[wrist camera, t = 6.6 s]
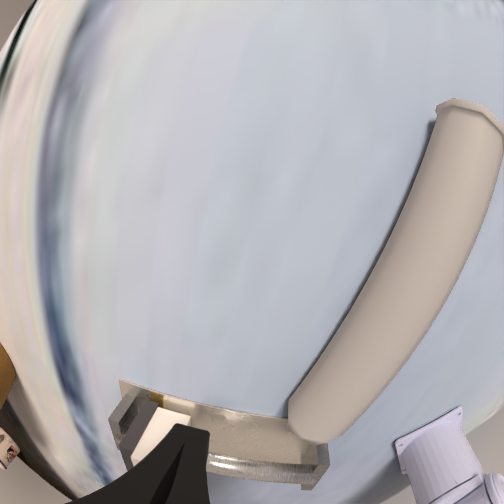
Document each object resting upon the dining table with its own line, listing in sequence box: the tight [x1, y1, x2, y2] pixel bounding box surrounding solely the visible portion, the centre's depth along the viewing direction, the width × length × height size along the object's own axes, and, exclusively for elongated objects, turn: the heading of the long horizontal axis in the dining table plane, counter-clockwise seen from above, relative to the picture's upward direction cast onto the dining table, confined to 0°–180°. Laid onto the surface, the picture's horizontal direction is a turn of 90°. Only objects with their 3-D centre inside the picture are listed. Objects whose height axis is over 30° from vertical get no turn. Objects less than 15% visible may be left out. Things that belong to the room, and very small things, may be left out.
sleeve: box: [131, 407, 191, 466], centre depth 18 cm, size 3×6×6 cm, turn 172°
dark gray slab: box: [118, 399, 159, 471], centre depth 18 cm, size 1×6×6 cm, turn 172°
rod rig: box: [108, 379, 330, 490], centre depth 19 cm, size 20×8×5 cm, turn 82°
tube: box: [287, 98, 504, 446], centre depth 15 cm, size 5×5×25 cm
